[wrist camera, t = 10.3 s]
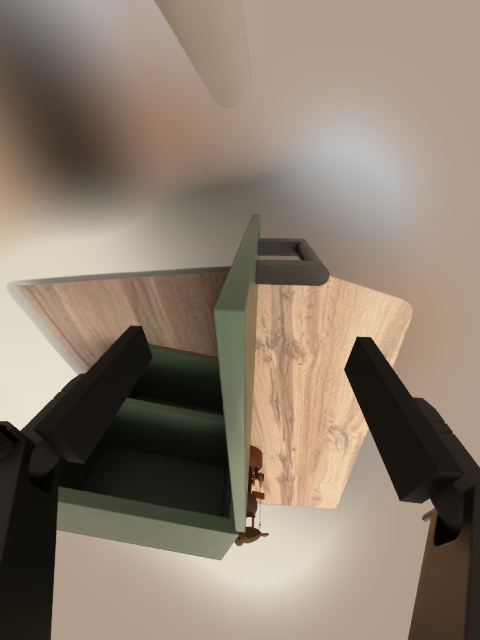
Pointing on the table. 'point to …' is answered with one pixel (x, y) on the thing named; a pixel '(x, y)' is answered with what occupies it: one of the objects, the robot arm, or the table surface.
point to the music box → (252, 498)
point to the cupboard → (158, 465)
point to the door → (251, 338)
